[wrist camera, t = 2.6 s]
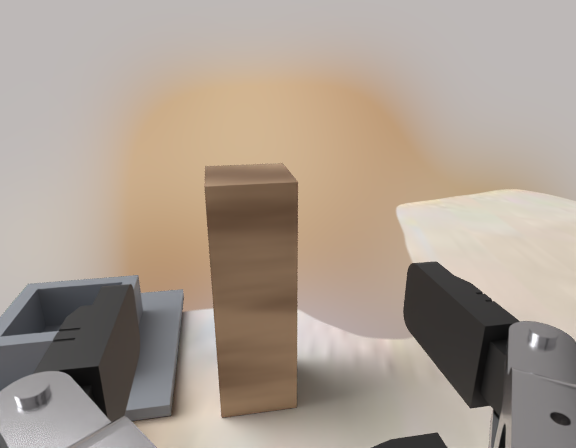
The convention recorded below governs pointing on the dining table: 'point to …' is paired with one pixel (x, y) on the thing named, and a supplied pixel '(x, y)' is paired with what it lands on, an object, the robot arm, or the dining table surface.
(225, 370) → the walnut block
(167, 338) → the slate stand
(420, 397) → the dining table surface
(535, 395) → the robot arm
